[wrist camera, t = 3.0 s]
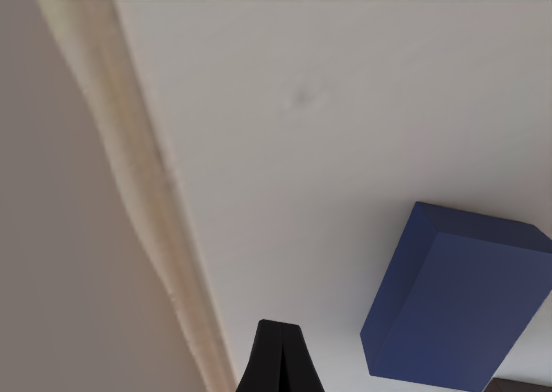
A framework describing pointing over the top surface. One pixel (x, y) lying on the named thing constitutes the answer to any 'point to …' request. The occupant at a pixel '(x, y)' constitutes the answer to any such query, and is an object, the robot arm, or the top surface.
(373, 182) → the top surface
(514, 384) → the bay
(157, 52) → the top surface
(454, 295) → the tea packet
